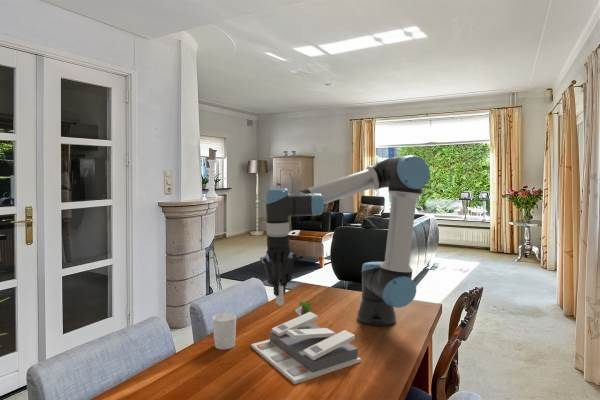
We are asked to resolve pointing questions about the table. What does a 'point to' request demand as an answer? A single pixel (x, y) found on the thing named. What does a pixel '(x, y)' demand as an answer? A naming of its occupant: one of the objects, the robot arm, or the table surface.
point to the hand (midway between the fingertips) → (279, 304)
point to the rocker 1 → (294, 323)
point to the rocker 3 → (329, 344)
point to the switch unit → (304, 356)
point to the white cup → (224, 330)
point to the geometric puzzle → (303, 308)
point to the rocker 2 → (310, 333)
